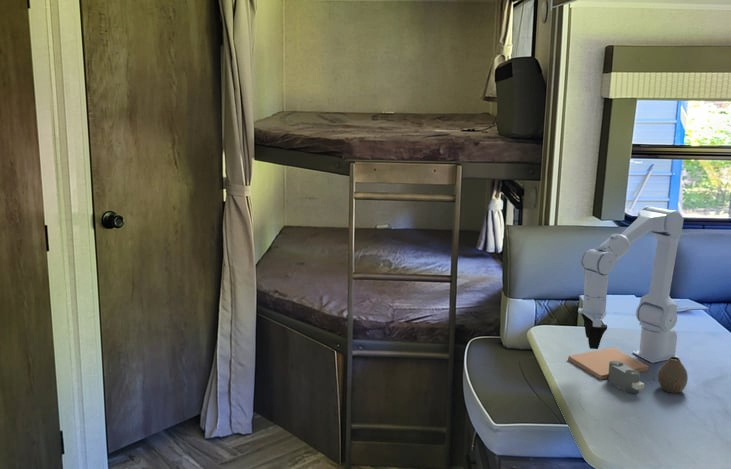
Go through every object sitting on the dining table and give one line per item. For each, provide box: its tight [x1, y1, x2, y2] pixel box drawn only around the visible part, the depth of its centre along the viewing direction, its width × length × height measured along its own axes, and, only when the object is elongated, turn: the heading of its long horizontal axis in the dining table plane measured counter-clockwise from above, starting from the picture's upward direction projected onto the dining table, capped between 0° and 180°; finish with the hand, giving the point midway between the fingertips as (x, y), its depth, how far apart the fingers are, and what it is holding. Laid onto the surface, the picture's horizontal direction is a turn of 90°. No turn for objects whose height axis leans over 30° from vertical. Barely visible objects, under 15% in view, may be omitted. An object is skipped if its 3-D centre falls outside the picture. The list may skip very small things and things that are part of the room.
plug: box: [607, 361, 645, 395], centre depth 171 cm, size 4×11×5 cm, turn 20°
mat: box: [568, 347, 649, 380], centre depth 185 cm, size 16×14×1 cm
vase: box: [657, 356, 688, 394], centre depth 169 cm, size 7×7×9 cm
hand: (591, 342), depth 176 cm, fingers open, 7 cm apart
